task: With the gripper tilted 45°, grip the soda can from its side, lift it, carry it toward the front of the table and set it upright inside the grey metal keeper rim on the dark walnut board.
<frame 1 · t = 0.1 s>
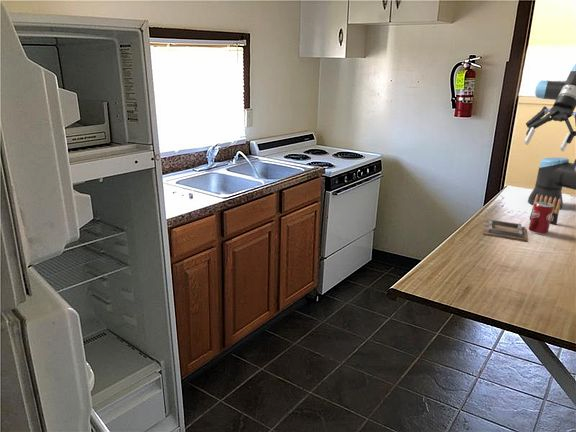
hand: (543, 146, 185), 36 cm above the table, tool tilted 35°, fingers open, 13 cm apart
soda can: (537, 232, 199), on the table
ammunition clip: (542, 222, 211), on the table
keeper board: (504, 231, 197), on the table
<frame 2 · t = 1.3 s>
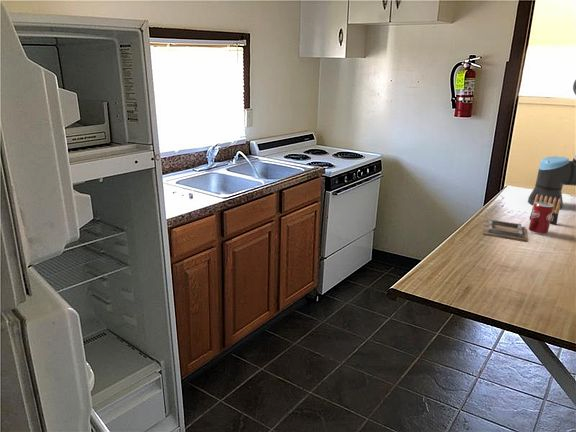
nothing on the table moved.
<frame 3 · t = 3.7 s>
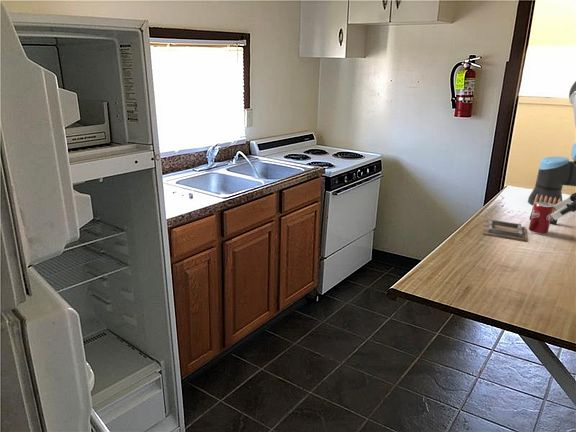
hand: (554, 212, 192), 9 cm above the table, tool tilted 45°, fingers open, 13 cm apart
nothing on the table moved.
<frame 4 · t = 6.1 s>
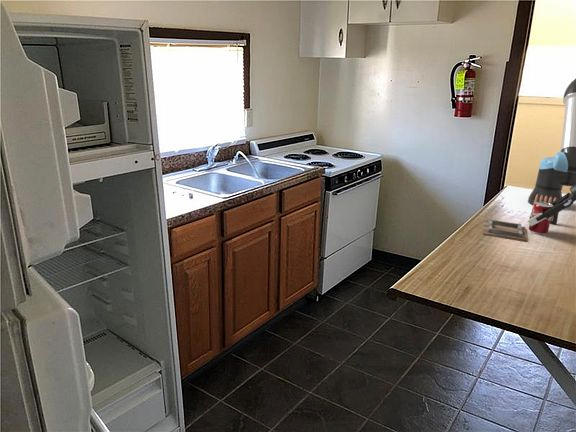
hand: (530, 220, 199), 4 cm above the table, tool tilted 45°, fingers closed on soda can, 7 cm apart
soda can: (537, 232, 199), on the table, touching gripper
everything else where it was.
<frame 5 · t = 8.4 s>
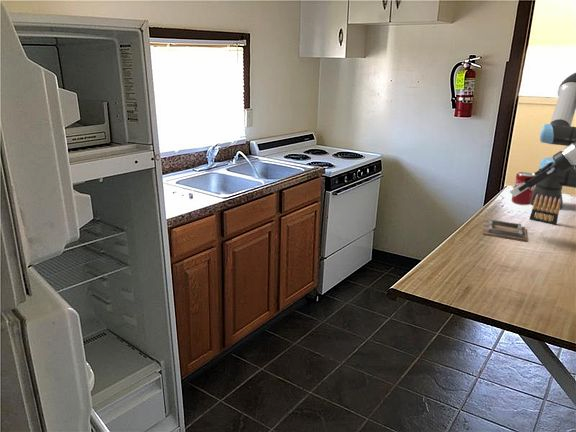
hand: (513, 191, 192), 17 cm above the table, tool tilted 45°, fingers closed on soda can, 7 cm apart
soda can: (520, 203, 192), point 13 cm above the table, touching gripper
everything else where it was.
when the fingers open (7 cm above the table, at t = 11.0 s): soda can drops 2 cm, resting on keeper board.
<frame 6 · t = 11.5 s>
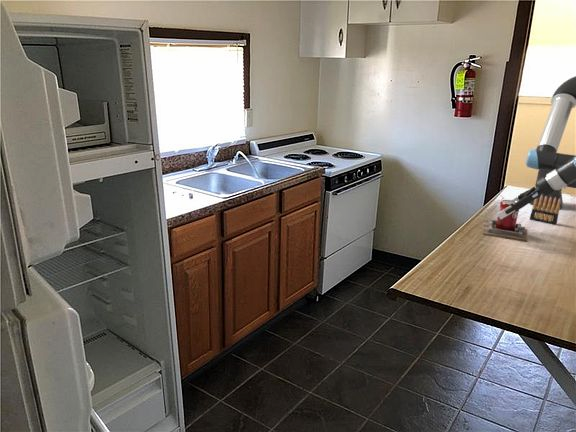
hand: (501, 212, 195), 8 cm above the table, tool tilted 45°, fingers open, 13 cm apart
soda can: (504, 230, 197), point 1 cm above the table, touching keeper board
everything else where it was.
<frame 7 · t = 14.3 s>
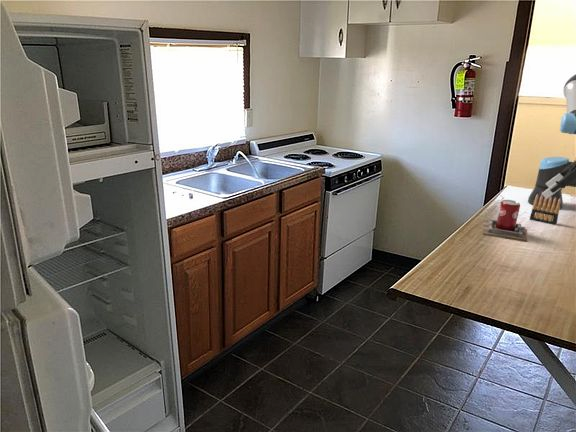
hand: (546, 191, 187), 19 cm above the table, tool tilted 40°, fingers open, 13 cm apart
nothing on the table moved.
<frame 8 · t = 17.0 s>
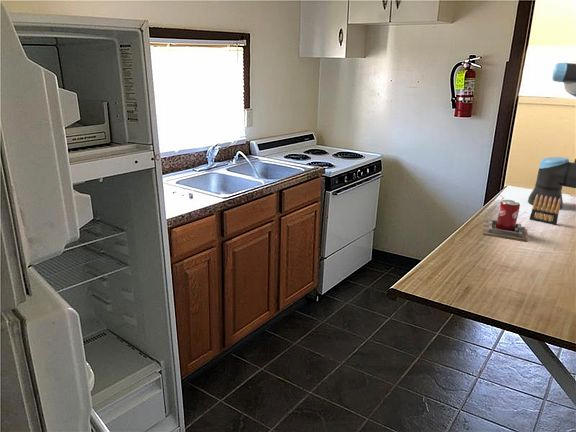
nothing on the table moved.
at the end: soda can 0.1 cm off-centre on the keeper board, point 0.6 cm above the keeper board's base; soda can tilted 0°; the gripper is holding nothing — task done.
